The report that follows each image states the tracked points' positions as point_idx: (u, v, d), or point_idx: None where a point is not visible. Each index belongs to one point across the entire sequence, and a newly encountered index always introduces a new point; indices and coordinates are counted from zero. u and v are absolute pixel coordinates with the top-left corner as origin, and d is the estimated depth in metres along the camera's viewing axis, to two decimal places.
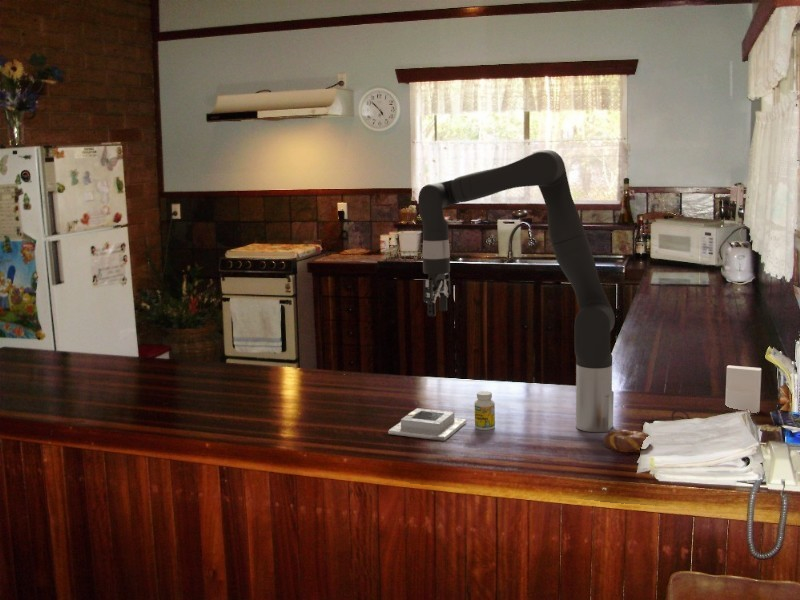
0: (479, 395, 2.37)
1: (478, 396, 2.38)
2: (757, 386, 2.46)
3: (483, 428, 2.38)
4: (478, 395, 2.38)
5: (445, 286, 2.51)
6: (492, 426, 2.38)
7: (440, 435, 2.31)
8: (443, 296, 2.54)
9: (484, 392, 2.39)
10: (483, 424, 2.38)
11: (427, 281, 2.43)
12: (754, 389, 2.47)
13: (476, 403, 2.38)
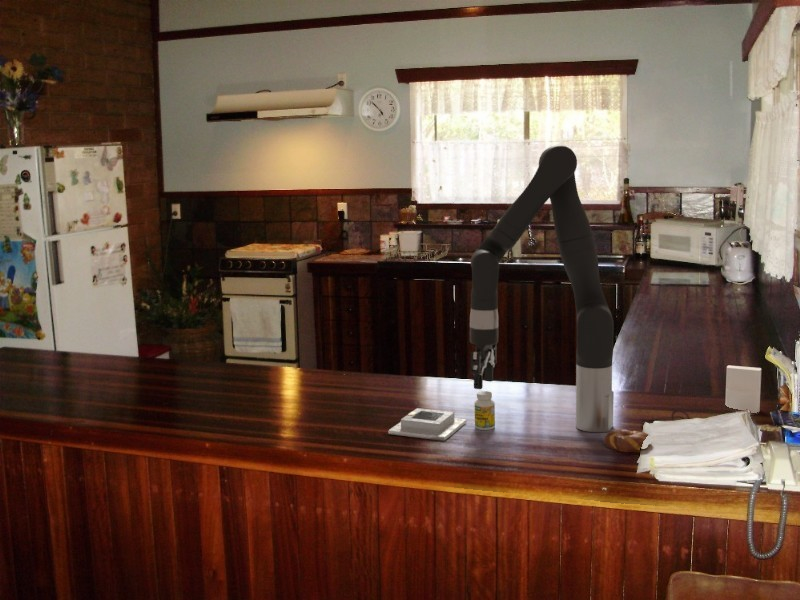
0: (479, 395, 2.37)
1: (478, 396, 2.38)
2: (757, 386, 2.46)
3: (483, 428, 2.38)
4: (478, 395, 2.38)
5: (492, 356, 2.38)
6: (492, 426, 2.38)
7: (440, 435, 2.31)
8: (489, 366, 2.41)
9: (484, 392, 2.39)
10: (483, 424, 2.38)
11: (475, 353, 2.31)
12: (754, 389, 2.47)
13: (476, 403, 2.38)
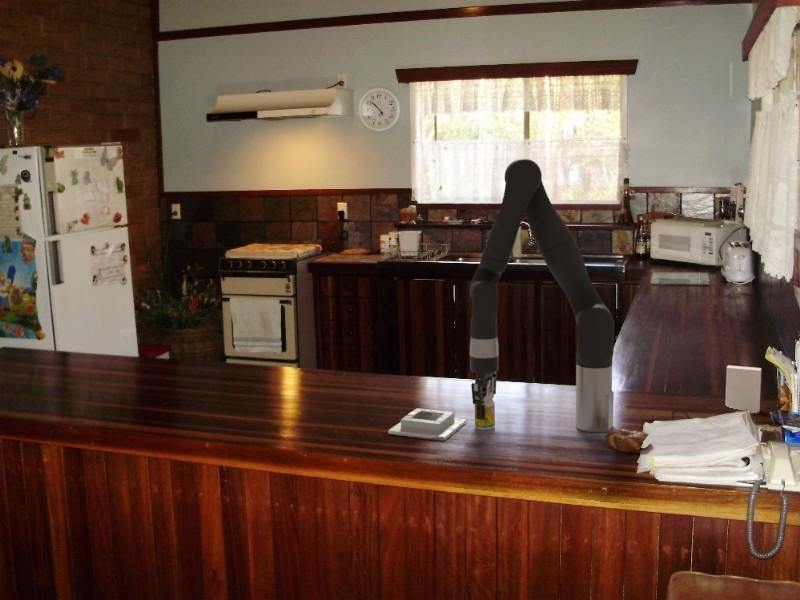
0: None
1: None
2: (757, 386, 2.46)
3: (483, 428, 2.38)
4: None
5: (492, 385, 2.39)
6: (492, 426, 2.38)
7: (440, 435, 2.31)
8: None
9: (484, 392, 2.39)
10: (483, 424, 2.38)
11: (475, 385, 2.32)
12: (754, 389, 2.47)
13: None
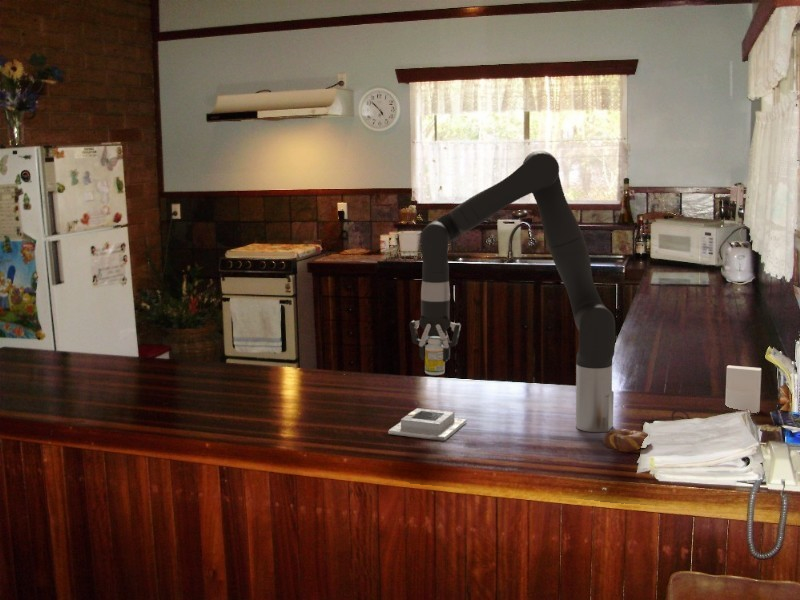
0: None
1: None
2: (757, 386, 2.46)
3: None
4: None
5: (439, 332, 2.35)
6: (429, 371, 2.37)
7: (440, 435, 2.31)
8: None
9: (437, 337, 2.38)
10: None
11: None
12: (754, 389, 2.47)
13: None
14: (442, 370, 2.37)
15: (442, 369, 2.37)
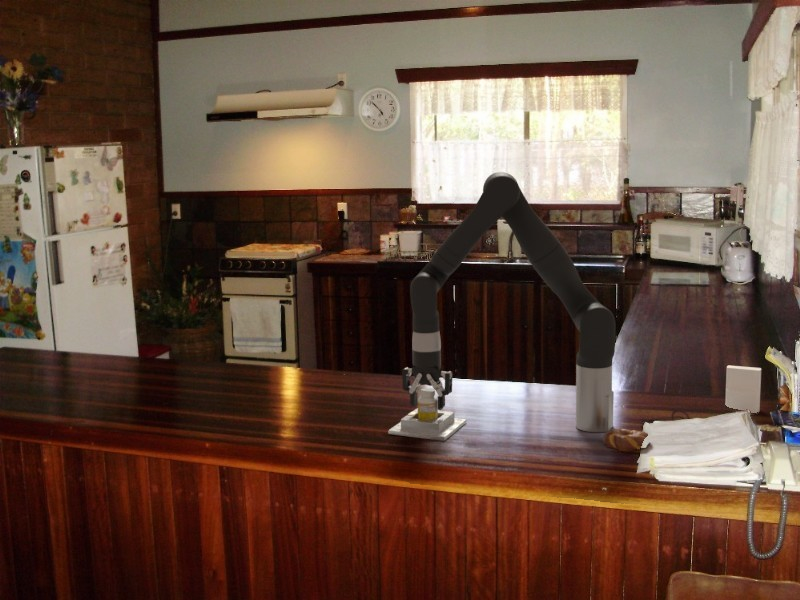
0: None
1: None
2: (757, 386, 2.46)
3: None
4: None
5: (431, 382, 2.36)
6: None
7: (440, 435, 2.31)
8: None
9: (429, 390, 2.39)
10: None
11: None
12: (754, 389, 2.47)
13: None
14: None
15: None
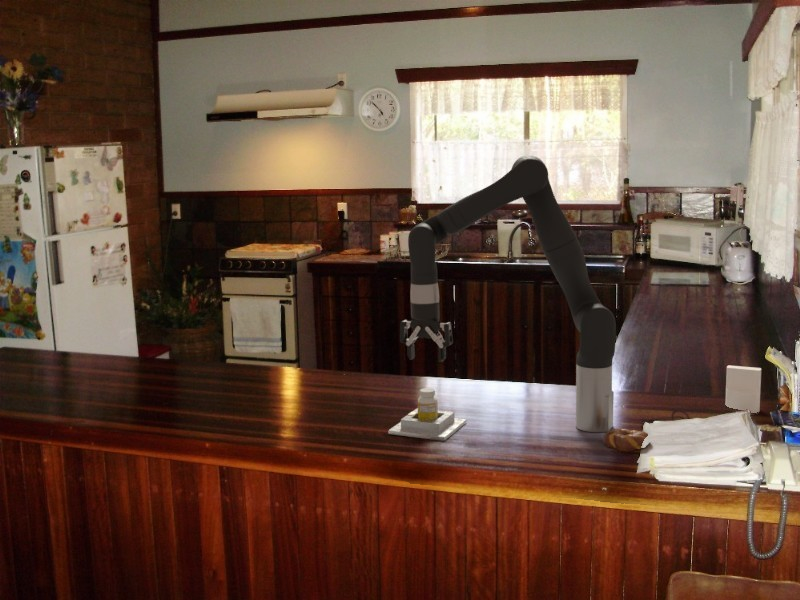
0: None
1: None
2: (757, 386, 2.46)
3: None
4: None
5: (430, 334, 2.34)
6: None
7: (440, 435, 2.31)
8: None
9: (429, 390, 2.39)
10: None
11: None
12: (754, 389, 2.47)
13: None
14: None
15: None
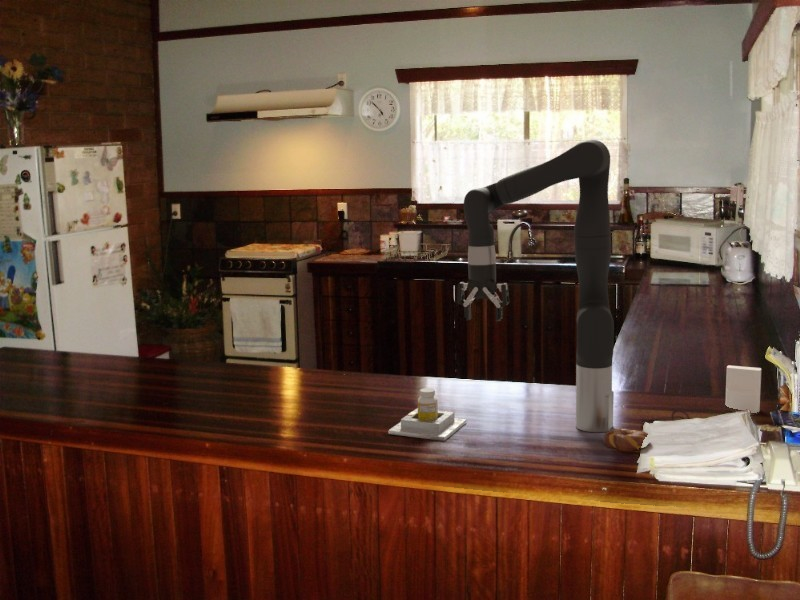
0: None
1: None
2: (757, 386, 2.46)
3: None
4: None
5: (488, 295, 2.43)
6: None
7: (440, 435, 2.31)
8: None
9: (429, 390, 2.39)
10: None
11: None
12: (754, 389, 2.47)
13: None
14: None
15: None
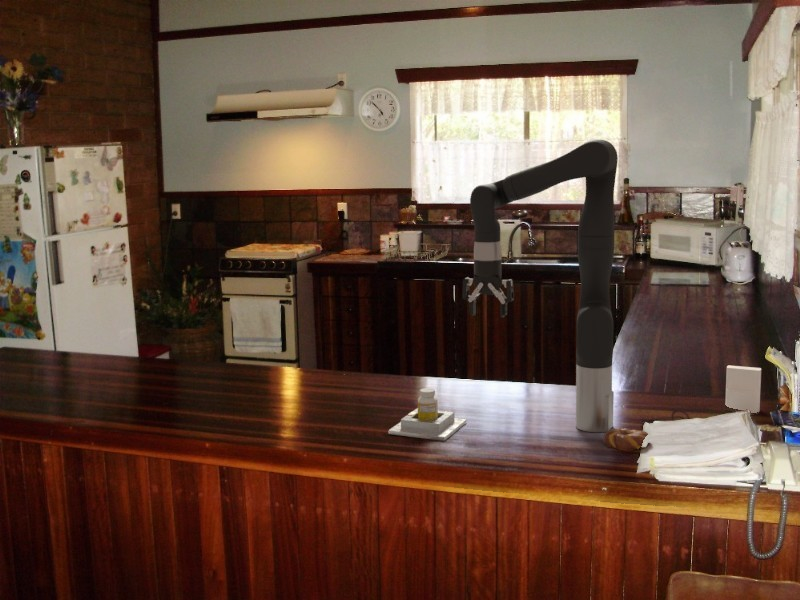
0: None
1: None
2: (757, 386, 2.46)
3: None
4: None
5: (493, 290, 2.44)
6: None
7: (440, 435, 2.31)
8: None
9: (429, 390, 2.39)
10: None
11: None
12: (754, 389, 2.47)
13: None
14: None
15: None
